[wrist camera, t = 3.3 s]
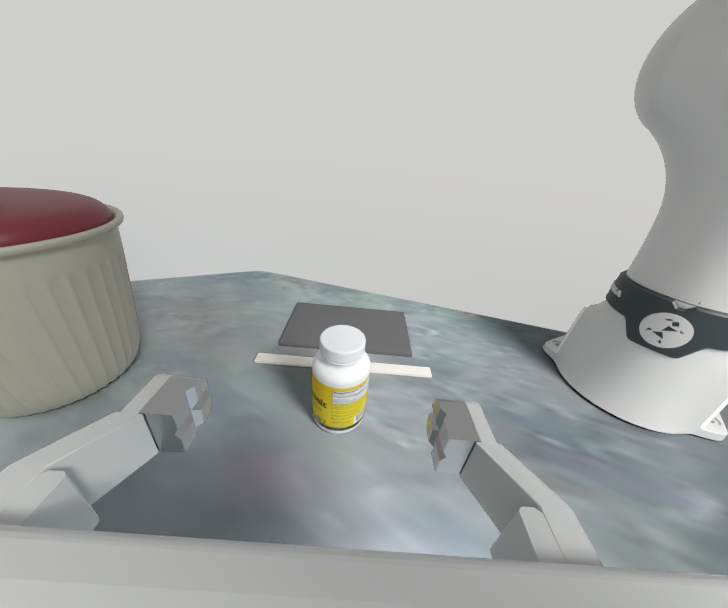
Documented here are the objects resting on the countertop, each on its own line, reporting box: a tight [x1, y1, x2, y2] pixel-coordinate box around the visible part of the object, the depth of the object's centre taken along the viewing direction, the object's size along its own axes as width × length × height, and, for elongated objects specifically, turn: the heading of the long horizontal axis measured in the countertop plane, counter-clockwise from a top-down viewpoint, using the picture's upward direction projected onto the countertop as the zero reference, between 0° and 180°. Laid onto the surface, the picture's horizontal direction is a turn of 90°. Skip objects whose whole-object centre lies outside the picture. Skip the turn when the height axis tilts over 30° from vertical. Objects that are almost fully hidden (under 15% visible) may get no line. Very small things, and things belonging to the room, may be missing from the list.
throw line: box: [254, 353, 432, 378], centre depth 35 cm, size 22×2×1 cm, turn 89°
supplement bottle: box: [312, 325, 370, 434], centre depth 26 cm, size 5×5×10 cm
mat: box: [279, 302, 412, 357], centre depth 42 cm, size 18×11×1 cm, turn 89°
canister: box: [0, 187, 140, 418], centre depth 24 cm, size 18×18×21 cm
